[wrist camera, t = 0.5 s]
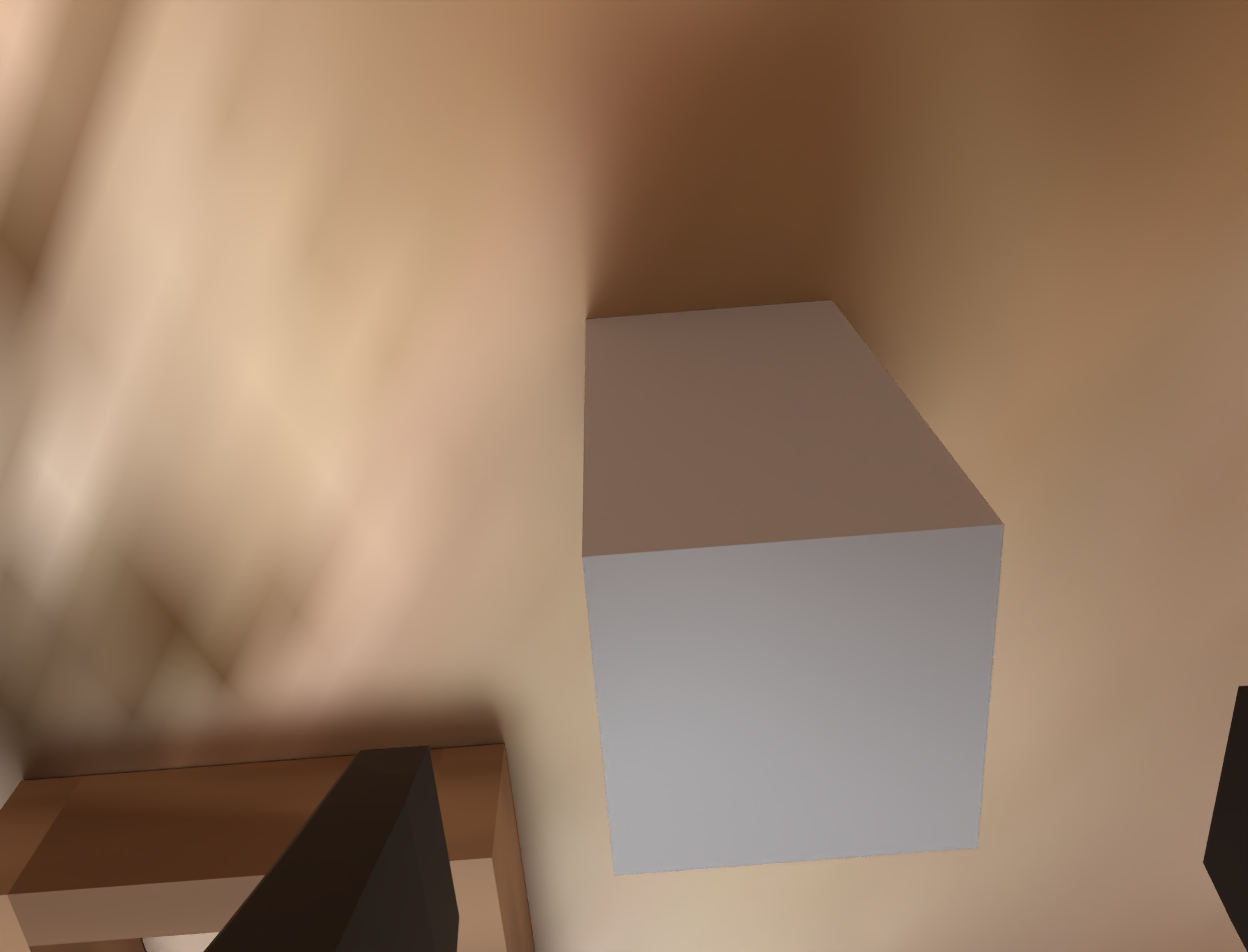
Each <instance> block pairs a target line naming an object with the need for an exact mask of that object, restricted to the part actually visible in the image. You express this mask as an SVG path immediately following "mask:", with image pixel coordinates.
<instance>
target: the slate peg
mask: <svg viewBox="0 0 1248 952" xmlns="http://www.w3.org/2000/svg"><path fill="white" fill-rule="evenodd" d="M1003 532H1004V524H1003V522H1002V521H1001V520H1000V518H999V517H998V516H997V514H996V513H995V512H994V510H993V509H992V508H991V507H990V505H989V504H988V503H987V501H986V500H985V499H984V497H983V496H982V495H981V494H980V492H979V491H978V490H977V488H976V487H975V486H974V484H973V483H972V482H971V480H970V479H969V478H968V477H967V475H966V474H965V473H964V471H963V470H962V469H961V467H960V466H959V465H958V463H957V462H956V461H955V460H954V458H953V457H952V456H951V454H950V453H949V452H948V450H947V449H946V448H945V446H944V445H943V444H942V443H941V441H940V440H939V439H938V437H937V436H936V435H935V433H934V432H933V431H932V430H931V428H930V427H929V426H928V424H927V423H926V422H925V420H924V419H923V418H922V416H921V415H920V414H919V413H918V411H917V410H916V409H915V407H914V406H913V405H912V403H911V402H910V401H909V399H908V398H907V397H906V396H905V394H904V393H903V392H902V390H901V389H900V388H899V386H898V385H897V384H896V382H895V381H894V380H893V379H892V377H891V376H890V375H889V373H888V372H887V371H886V369H885V368H884V367H883V366H882V364H881V363H880V362H879V360H878V359H877V358H876V356H875V355H874V354H873V352H872V351H871V350H870V349H869V347H868V346H867V345H866V343H865V342H864V341H863V339H862V338H861V337H860V335H859V334H858V333H857V332H856V330H855V329H854V328H853V326H852V325H851V324H850V322H849V321H848V320H847V318H846V317H845V316H844V315H843V313H842V312H841V311H840V309H839V308H838V307H837V305H836V304H835V303H834V302H833V300H824V301H811V302H798V303H786V304H773V305H760V306H747V307H734V308H722V309H709V310H696V311H683V312H670V313H658V314H645V315H632V316H619V317H606V318H594V319H586V337H585V404H584V471H583V538H582V560H583V570H584V580H585V589H586V599H587V609H588V619H589V629H590V639H591V649H592V659H593V669H594V679H595V689H596V699H597V709H598V719H599V729H600V739H601V749H602V759H603V768H604V778H605V788H606V798H607V808H608V818H609V828H610V838H611V848H612V858H613V868H614V876H616V875H629V874H642V873H656V872H669V871H682V870H695V869H708V868H721V867H735V866H748V865H761V864H774V863H787V862H801V861H814V860H827V859H840V858H853V857H867V856H880V855H893V854H906V853H919V852H932V851H946V850H959V849H972V848H977V847H978V835H979V823H980V811H981V799H982V786H983V774H984V762H985V750H986V738H987V726H988V714H989V702H990V689H991V677H992V665H993V653H994V641H995V629H996V617H997V605H998V593H999V580H1000V568H1001V556H1002V544H1003Z"/></svg>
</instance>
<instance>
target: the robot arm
mask: <svg viewBox="0 0 1248 952" xmlns="http://www.w3.org/2000/svg"><path fill="white" fill-rule="evenodd" d="M1203 863H1204V865H1205V868H1206V870H1207V872H1208V874H1209V876H1210V878H1211V880H1212V882H1213V884H1214V886H1215V888H1216V890H1217V892H1218V895H1219V897H1220V899H1221V901H1222V903H1223V905H1224V907H1225V909H1226V911H1227V913H1228V915H1229V917H1230V919H1231V922H1232V923H1233V925H1234V927H1235V929H1236V931H1237V933H1238V935H1239V937H1240V939H1241V941H1242V943H1243V944H1244V946H1245V948H1246V950H1247V952H1248V686H1239V687H1238V692H1237V697H1236V702H1235V707H1234V712H1233V717H1232V722H1231V727H1230V732H1229V737H1228V742H1227V747H1226V752H1225V757H1224V762H1223V767H1222V772H1221V777H1220V782H1219V786H1218V791H1217V796H1216V801H1215V806H1214V811H1213V816H1212V821H1211V826H1210V831H1209V836H1208V841H1207V846H1206V851H1205V856H1204V861H1203ZM458 929H459V912H458V906H457V901H456V895H455V890H454V884H453V878H452V873H451V867H450V861H449V856H448V850H447V845H446V839H445V833H444V828H443V822H442V817H441V811H440V805H439V800H438V794H437V788H436V783H435V777H434V772H433V766H432V760H431V755H430V749H429V746H417V747H403V748H390V749H376V750H362V751H360V752H359V753H358V754H357V755H356V756H355V758H354V759H353V760H352V761H351V762H350V763H349V764H348V766H347V767H346V768H345V770H344V771H343V772H342V774H341V775H340V777H339V778H338V779H337V781H336V782H335V783H334V785H333V786H332V787H331V789H330V790H329V791H328V793H327V794H326V795H325V797H324V798H323V800H322V801H321V802H320V804H319V805H318V806H317V808H316V809H315V810H314V812H313V813H312V814H311V816H310V817H309V818H308V820H307V821H306V822H305V824H304V825H303V826H302V828H301V829H300V830H299V832H298V833H297V834H296V836H295V837H294V838H293V840H292V841H291V842H290V844H289V845H288V846H287V848H286V849H285V850H284V852H283V853H282V854H281V855H280V857H279V858H278V859H277V861H276V862H275V863H274V865H273V866H272V867H271V869H270V870H269V871H268V872H267V874H266V875H265V876H264V877H263V879H262V880H261V881H260V882H259V884H258V885H257V886H256V887H255V889H254V890H253V891H252V892H251V894H250V895H249V896H248V897H247V899H246V900H245V901H244V902H243V904H242V905H241V906H240V907H239V909H238V910H237V911H236V912H235V914H234V915H233V916H232V917H231V919H230V920H229V921H228V922H227V924H226V925H225V926H224V927H223V929H222V930H221V931H220V932H219V934H218V935H217V936H216V937H215V938H214V940H213V941H212V942H211V943H210V945H209V946H208V947H207V948H206V949H205V950H204V952H457V943H458Z"/></svg>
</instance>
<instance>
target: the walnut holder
mask: <svg viewBox="0 0 1248 952" xmlns="http://www.w3.org/2000/svg"><path fill="white" fill-rule="evenodd" d="M430 755H431V760H432V766H433V772H434V777H435V783H436V788H437V794H438V800H439V805H440V811H441V817H442V822H443V828H444V833H445V839H446V845H447V850H448V856H449V861H450V867H451V873H452V878H453V884H454V890H455V895H456V901H457V906H458V912H459V929H458V943H457V952H535V948H534V941H533V934H532V927H531V921H530V914H529V907H528V900H527V893H526V887H525V880H524V873H523V866H522V859H521V853H520V846H519V839H518V832H517V825H516V819H515V812H514V805H513V798H512V791H511V785H510V778H509V771H508V764H507V757H506V750H505V744H495V745H482V746H469V747H456V748H443V749H430ZM355 756H356V755H351V756H338V757H325V758H312V759H299V760H286V761H273V762H260V763H247V764H234V765H221V766H208V767H195V768H182V769H169V770H156V771H142V772H129V773H116V774H103V775H90V776H77V777H64V778H51V779H38V780H25V781H21V782H20V783H19V785H18V786H17V788H16V789H15V790H14V792H13V793H12V795H11V796H10V797H9V799H8V800H7V802H6V803H5V804H4V806H3V807H2V809H1V810H0V952H145V950H144V947H143V944H142V941H141V939H140V938H145V937H159V936H172V935H185V934H198V933H211V932H220V931H221V930H222V929H223V927H224V926H225V925H226V924H227V922H228V921H229V920H230V919H231V917H232V916H233V915H234V914H235V912H236V911H237V910H238V909H239V907H240V906H241V905H242V904H243V902H244V901H245V900H246V899H247V897H248V896H249V895H250V894H251V892H252V891H253V890H254V889H255V887H256V886H257V885H258V884H259V882H260V881H261V880H262V879H263V877H264V876H265V875H266V874H267V872H268V871H269V870H270V869H271V867H272V866H273V865H274V863H275V862H276V861H277V859H278V858H279V857H280V855H281V854H282V853H283V852H284V850H285V849H286V848H287V846H288V845H289V844H290V842H291V841H292V840H293V838H294V837H295V836H296V834H297V833H298V832H299V830H300V829H301V828H302V826H303V825H304V824H305V822H306V821H307V820H308V818H309V817H310V816H311V814H312V813H313V812H314V810H315V809H316V808H317V806H318V805H319V804H320V802H321V801H322V800H323V798H324V797H325V795H326V794H327V793H328V791H329V790H330V789H331V787H332V786H333V785H334V783H335V782H336V781H337V779H338V778H339V777H340V775H341V774H342V772H343V771H344V770H345V768H346V767H347V766H348V764H349V763H350V762H351V761H352V760H353V759H354V758H355Z"/></svg>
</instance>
